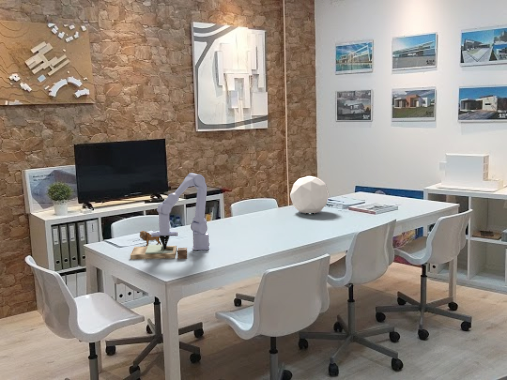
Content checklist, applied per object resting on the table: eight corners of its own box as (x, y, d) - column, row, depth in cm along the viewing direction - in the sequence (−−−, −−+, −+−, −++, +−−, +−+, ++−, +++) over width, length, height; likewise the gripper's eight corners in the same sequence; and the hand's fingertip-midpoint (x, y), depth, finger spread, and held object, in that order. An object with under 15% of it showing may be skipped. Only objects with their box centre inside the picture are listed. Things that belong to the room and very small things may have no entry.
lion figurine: (139, 246, 332) (138, 231, 331) (140, 244, 337) (140, 229, 336) (164, 246, 332) (163, 231, 331) (165, 244, 338) (164, 229, 336)
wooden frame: (176, 250, 324) (176, 245, 323) (175, 258, 307) (174, 253, 307) (134, 251, 322) (134, 246, 322) (130, 259, 305) (130, 254, 305)
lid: (164, 245, 323) (164, 242, 322) (162, 253, 306) (161, 250, 306) (148, 246, 322) (148, 243, 322) (145, 253, 306) (145, 250, 305)
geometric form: (315, 228, 423) (317, 201, 401) (282, 210, 435) (283, 183, 414) (334, 205, 439) (338, 178, 417) (302, 189, 451) (304, 162, 429)
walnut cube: (187, 256, 311) (187, 247, 310) (186, 258, 306) (186, 249, 305) (178, 256, 311) (177, 247, 310) (177, 259, 306) (177, 250, 305)
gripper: (177, 223, 317) (178, 246, 319) (151, 223, 315) (152, 247, 318) (177, 225, 310) (177, 249, 312) (150, 226, 309) (151, 250, 311)
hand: (165, 248), depth 314 cm, fingers closed
